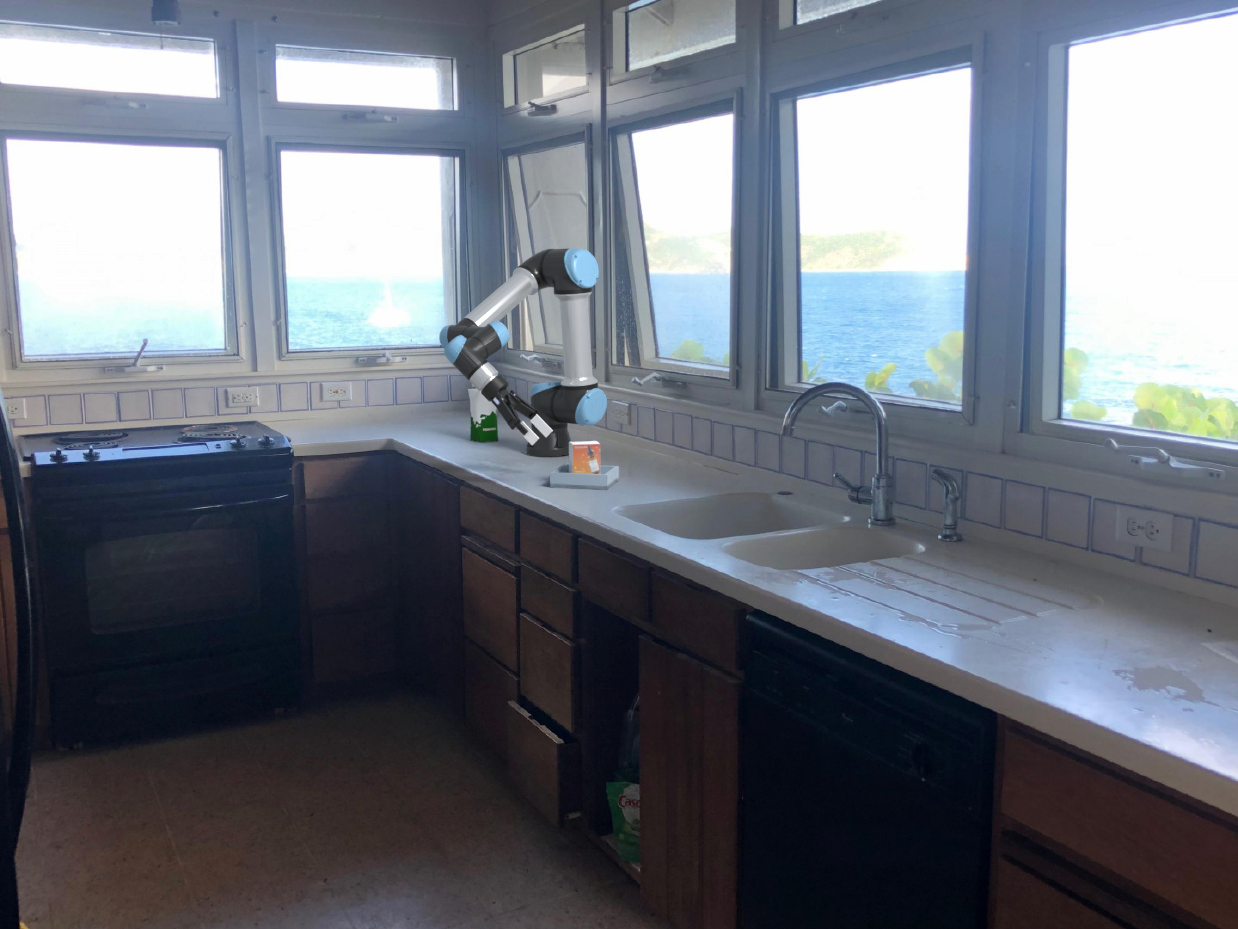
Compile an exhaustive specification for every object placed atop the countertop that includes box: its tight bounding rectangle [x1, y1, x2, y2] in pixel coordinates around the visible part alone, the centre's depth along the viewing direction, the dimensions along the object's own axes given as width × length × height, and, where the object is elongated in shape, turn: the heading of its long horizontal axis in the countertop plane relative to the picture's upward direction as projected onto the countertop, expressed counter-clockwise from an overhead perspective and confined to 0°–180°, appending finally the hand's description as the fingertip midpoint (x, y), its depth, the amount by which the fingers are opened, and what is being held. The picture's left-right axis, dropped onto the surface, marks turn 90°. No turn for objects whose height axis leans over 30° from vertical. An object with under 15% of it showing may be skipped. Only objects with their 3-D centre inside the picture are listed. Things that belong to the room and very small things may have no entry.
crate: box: [549, 463, 620, 491], centre depth 298 cm, size 14×16×4 cm
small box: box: [568, 440, 601, 474], centre depth 297 cm, size 8×6×10 cm
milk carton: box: [467, 387, 499, 443], centre depth 373 cm, size 9×9×20 cm
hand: (542, 438), depth 299 cm, fingers open, 13 cm apart
